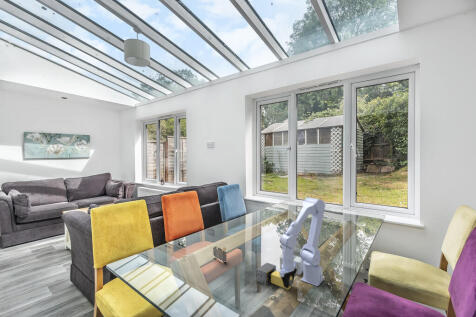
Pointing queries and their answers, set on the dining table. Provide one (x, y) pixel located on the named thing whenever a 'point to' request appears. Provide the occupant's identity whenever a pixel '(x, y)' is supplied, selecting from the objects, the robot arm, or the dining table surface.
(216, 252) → the ruin model on sheet
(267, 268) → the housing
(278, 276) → the end cover
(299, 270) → the supplement box
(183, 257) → the dining table surface
